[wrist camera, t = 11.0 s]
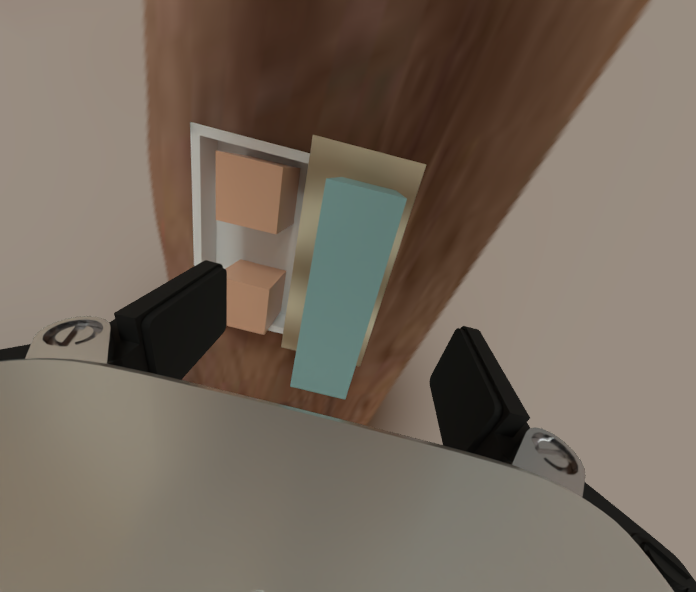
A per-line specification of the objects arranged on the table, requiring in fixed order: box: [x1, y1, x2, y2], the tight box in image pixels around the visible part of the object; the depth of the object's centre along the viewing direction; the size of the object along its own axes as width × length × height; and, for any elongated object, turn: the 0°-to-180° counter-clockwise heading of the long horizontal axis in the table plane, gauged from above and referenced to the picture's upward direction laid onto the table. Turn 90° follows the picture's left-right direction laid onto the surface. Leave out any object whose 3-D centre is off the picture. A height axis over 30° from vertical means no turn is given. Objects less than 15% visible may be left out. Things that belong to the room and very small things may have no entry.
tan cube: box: [215, 150, 301, 234], centre depth 18 cm, size 4×4×4 cm
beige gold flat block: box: [281, 135, 426, 367], centre depth 20 cm, size 16×7×3 cm, turn 167°
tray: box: [190, 122, 310, 334], centre depth 20 cm, size 14×8×2 cm, turn 167°
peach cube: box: [226, 259, 286, 335], centre depth 21 cm, size 4×4×4 cm
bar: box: [290, 177, 407, 399], centre depth 16 cm, size 12×4×6 cm, turn 167°
